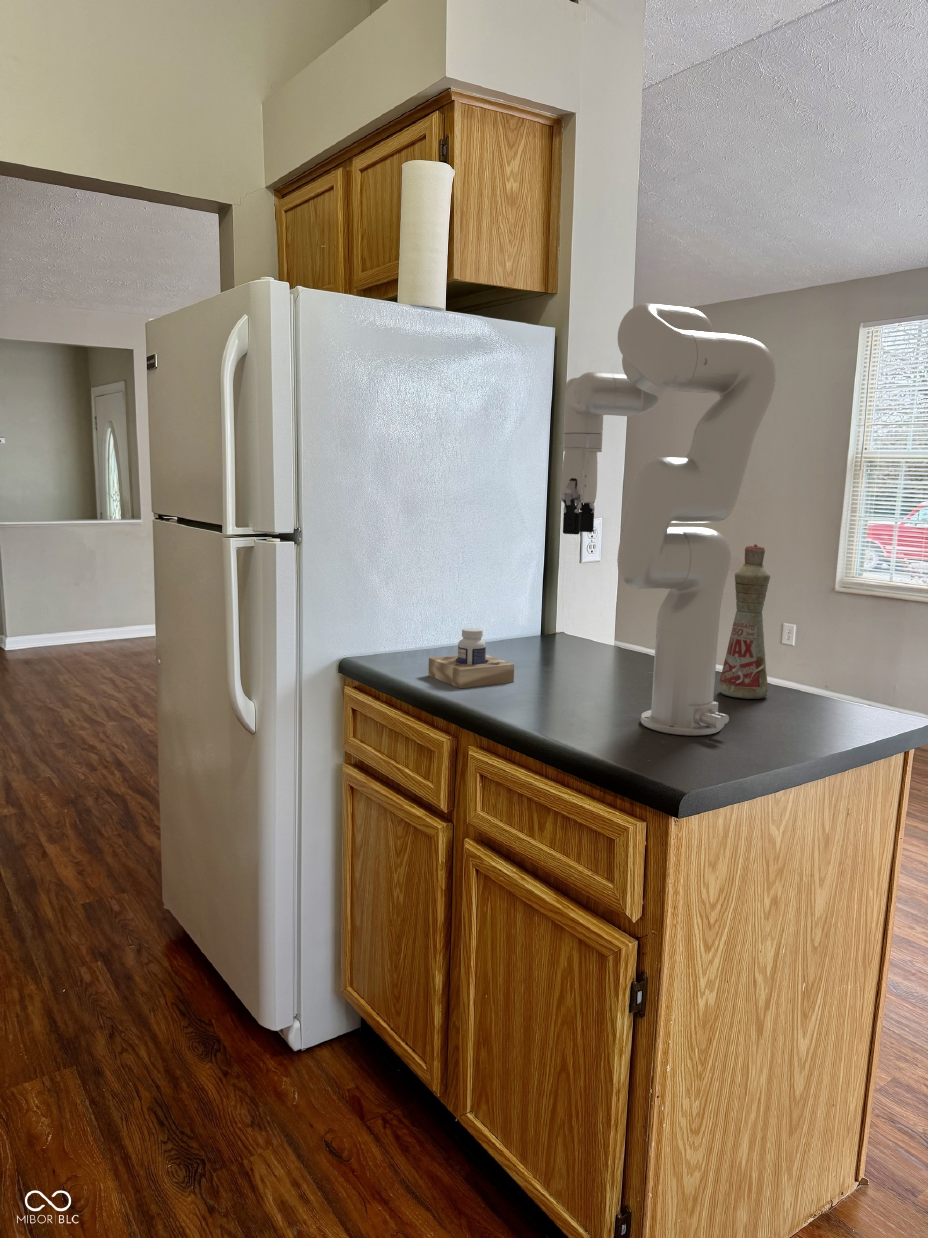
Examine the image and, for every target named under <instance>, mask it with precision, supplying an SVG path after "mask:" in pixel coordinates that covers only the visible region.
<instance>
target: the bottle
mask: <svg viewBox="0 0 928 1238" xmlns="http://www.w3.org/2000/svg"><path fill="white" fill-rule="evenodd" d="M765 553H766V549H765V547H764V546H758V544H757V543H754V544H753V545H747V546H746V547H745V548H744V564H742V565H741V566H740V567H739V568H738V569H737V570H736V571H735V573H734V582H735V583H734V584H735V587H734V588H735V600H736V601H735V603H736V611H735V614H734V619H733V623H732V628H731V632H730V637H729V641H728V645H727V648H726V653H725V657H724V661H723V664H722V665H723V666H722V671H721V674H720V677H719V678H720V679H719V683H718V688H719V691H720V692H721V694H722V695H723V696H727V697H732V698H738V699H745V700H751V699H752V700H755V699H756V700H760V699H764V698H766V697H767V696H768V693H769V682H768V676H767V675H768V674H767V663H766V650H765V649H766V648H765V636H764V635H765V634H764V622H763V621H764V619H763V611H764V610H763V609H764V605H765V601H766V596H767V592H768V588H769V586H768V585H769V584H770V580H771V574H770V572H769V571H768V570H767V569H766V568H765V567H764V566H765V565H764V559H765Z"/></svg>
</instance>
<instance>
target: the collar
mask: <svg viewBox="0 0 928 1238" xmlns="http://www.w3.org/2000/svg"><path fill="white" fill-rule="evenodd" d="M427 670H428V676H429V677H432V678H433V679H437V680H439V681H441V682H444V683H446V684H449V685H450V686H454V687H456V688H457V689H458V688H459V689H465V688H474V687H483V686H489V685H490V686H491V685H499V684H511V683H514V682H515V663H513V662H509V661H506V660H504V659H500V658H498V657H494V656H491V655H488V654H486V658H485V664H477V665H470V664H459V663H458V654H454V655H442V656H434V657H428V669H427Z"/></svg>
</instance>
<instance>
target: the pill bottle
mask: <svg viewBox="0 0 928 1238" xmlns="http://www.w3.org/2000/svg"><path fill="white" fill-rule="evenodd" d="M483 631H484V630H483V629H482V628H479V627H464V628H462V629H461V637H462V639H460V640H459V641H458V643H457V644H458V645H457V655H458V663H459V664H470V665H477V664H485V658H486V655H487V653H486V652H487V648H486V647H487V645H486V642H485V640H483V639H482V638H483V634H484V633H483Z"/></svg>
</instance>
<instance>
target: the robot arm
mask: <svg viewBox="0 0 928 1238" xmlns="http://www.w3.org/2000/svg"><path fill="white" fill-rule="evenodd" d="M617 344H618V345H617V346H618V348H619V351H620V354H621V355H622V357H621V365H622V369H623V373H613V372H612V373H611V372H601V371H600V372H599V371H598V372H597V371H591V372H588V371H587V372H585V373H583V374H581V375H580V376H579V377H573V378H570V379H568V380H567V382H566V384H565V386H564V387H565V389H564V390H565V391H564V410H563V411H564V412H563V415H564V416H563V432H562V434H563V435H562V437H563V438H562V452H564V453H563V461H562V467H561V468H562V469H561V476H560V477H561V478H560V491H559V500H560V501H561V502H562V503H563V511H562V512H563V516H562V517H563V519H562V533H563V534H564V535H580V533H593V532H594V526H595V524H594V523H595V501H596V498H597V491H598V463H599V462H598V453H602V452H603V451H602V450H603V433H604V416H618V417H619V416H620V417H635V416H636V417H637V416H641V415H644V414H645V413H646V412H648V411H650V410H651V409H653V408H655V407H656V406H658V405H659V404H660V403H661V402H662V400H663V399H664V397H665V394H666V392H667V391H670V392H678V393H679V392H683V393H694V394H695V393H697V394H711V395H712V394H716V395H718V396H719V398H718V399H717V400H716V401H715V402H714V403H712V405H710V407H709V408H708V409H706V411H705V412H704V414H703V415H702V417H701V418H700V419H699V421H698V422H697V424H696V426H695V428H694V431H693V436H692V440H691V444H690V448H689V450H688V453H687V454H686V455H685V456H684V457H673V456H672V457H671V456H669V457H667V456H665V457H664V456H663V457H656V458H653V459H651V460H649V461H647V462H646V463H645V464H643V466H641V468H640V469H639V470H638V472H637V473H636V475H635V477H634V480H633V483H632V486H631V490H630V494H629V498H628V499H629V500H628V502H627V506H626V507H627V508H626V511H625V516H624V521H623V525H622V530H621V535H620V539H619V545H618V551H617V559H616V561H617V570H618V574H619V577H620V579H621V580H622V582H623V584H625V585H626V586H628V587H631V588H633V589H637V590H669V591H668V592H667V594H666V595H665V597H664V598H663V600H662V602H661V604H660V606H659V609H658V611H657V617H656V626H655V627H656V628H655V629H656V630H655V645H654V661H653V675H652V677H653V678H652V689H651V690H652V692H651V709H650V710H646V711H644V712H642V714H641V715H640V723H641V724H642V725H643V726H644V727H646V728H648V729H651V730H653V731H655V732H656V731H657V732H660V733H663V734H664V733H665V734H669V735H670V734H672V735H677V736H678V735H679V736H709V735H712V734H714V735H715V734H716V733H718V732H720V731H721V730H722V729H723V728H724V726H725V724H726V725H727V724H728V722H729V721H730V717H729V715H728V714H725V713H721V712H719V702H718V701H714V697H715V695H714V693H715V685H716V684H715V682H716V669H717V668H716V667H717V655H718V654H717V653H718V639H719V630H720V629H719V628H720V618H721V617H720V616H721V608H722V599H723V595H724V589H725V585H726V581H727V579H728V575H729V572H730V571H729V570H730V567H731V560H732V559H731V558H732V553H731V547H730V544H729V542H728V540H727V539H726V538H725V536H724V535H723V534H721V533H720V532H718V531H717V530H714V529H712V528H708V527H703V526H701V527H700V526H671V524H673V523H681V524H682V523H685V524H689V523H690V524H691V523H693V524H695V523H696V524H700V523H701V524H702V523H703V524H704V523H706V524H707V523H717V522H721V521H724V520H725V519H728V518H729V517H730V516H731V515H732V513H733V511H734V509H735V507H736V504H737V502H738V497H739V494H740V491H741V488H742V483H743V481H744V477H745V473H746V470H747V466H748V462H749V459H750V455H751V452H752V447H753V444H754V441H755V437H756V434H757V432H758V429H759V427H760V425H761V423H762V421H763V418H764V416H765V415H766V412H767V410H768V408H769V405H770V403H771V401H772V398H773V395H774V391H775V386H776V381H777V380H776V378H777V377H776V376H777V373H776V363H775V360H774V357H773V355H772V353H771V351H770V350H769V348H768V347H767V346H766V345H764V343H762V342H761V341H758V340H756V339H754V338H751V337H749V336H748V337H747V336H743V335H739V334H732V333H722V332H721V333H720V332H714V329H713V325H712V323H711V320H710V319H709V318H708V317H707V316H706V315H705V314H704V313H703V312H701V311H699V310H698V309H695V308H690V307H686V306H677V305H676V306H675V305H667V304H659V303H640V304H637V305H635V306H633V307H632V308H631V309H629V310H628V311H627V312H626V314H624V316H623V318H622V319H621V322H620V323H619V326H618V330H617Z"/></svg>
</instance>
